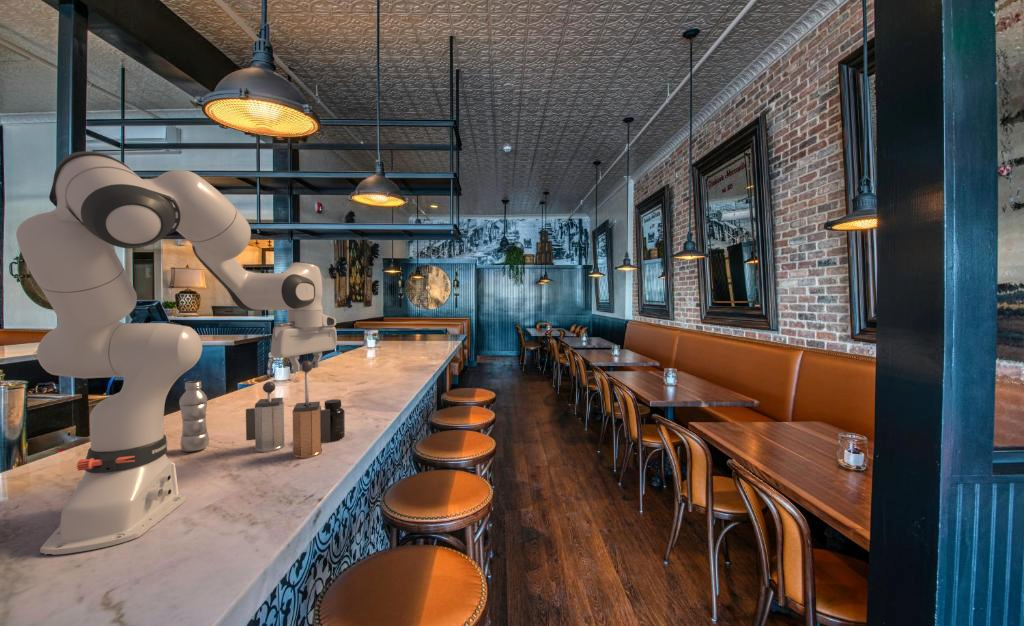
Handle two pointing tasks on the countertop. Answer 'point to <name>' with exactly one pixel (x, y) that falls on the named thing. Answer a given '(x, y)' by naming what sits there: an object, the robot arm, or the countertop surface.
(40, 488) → the countertop surface
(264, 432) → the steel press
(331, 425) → the supplement bottle
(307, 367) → the ball knob lever
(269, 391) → the steel plunger
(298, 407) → the copper press
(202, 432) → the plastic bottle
